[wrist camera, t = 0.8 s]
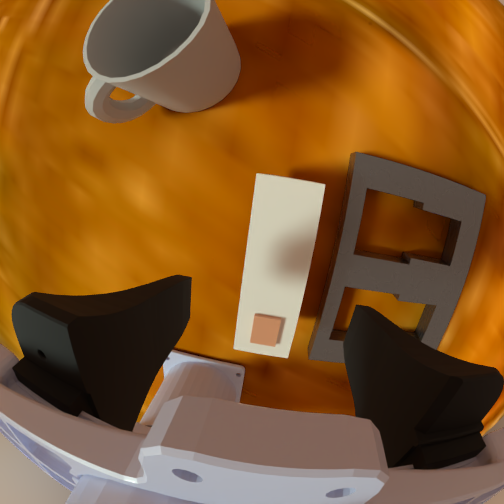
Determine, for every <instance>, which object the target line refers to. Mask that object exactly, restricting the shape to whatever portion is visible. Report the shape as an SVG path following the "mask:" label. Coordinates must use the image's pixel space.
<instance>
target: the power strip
mask: <svg viewBox="0 0 504 504" xmlns="http://www.w3.org/2000/svg"><path fill="white" fill-rule="evenodd" d="M324 190H325V184H322V183H318V182H313V181H307V180H302V179H296V178H290V177H283V176H277V175H270V174H263V173H257V175H256V182H255V190H254V197H253V204H252V212H251V219H250V227H249V234H248V241H247V249H246V256H245V264H244V272H243V279H242V287H241V294H240V302H239V310H238V317H237V325H236V333H235V341H234V349H236V350H241V351H247V352H252V353H258V354H264V355H270V356H276V357H283V358H288V355H289V352H290V348H291V344H292V340H293V337H294V333H295V329H296V325H297V321H298V317H299V313H300V309H301V305H302V300H303V296H304V292H305V287H306V283H307V278H308V274H309V269H310V265H311V260H312V255H313V250H314V245H315V240H316V235H317V230H318V224H319V219H320V213H321V208H322V202H323V196H324Z"/></svg>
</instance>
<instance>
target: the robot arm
mask: <svg viewBox="0 0 504 504" xmlns="http://www.w3.org/2000/svg"><path fill="white" fill-rule="evenodd" d="M191 280H192V277H187V276H182V275H174V276H170V277H167V278H164V279H161V280H158V281H155V282H152V283H149V284H145V285H142V286H138V287H135V288H131V289H128V290H123V291H119V292H113V293H107V294H97V295H85V296H68V295H54V294H46V293H38V292H33V293H31V294H29V295H27V296H26V297H24V298H23V299H21V300H19V301H18V302H16V303H15V304H14V306H13V309H12V322H13V326H14V329H15V332H16V335H17V338H18V341H19V344H20V347H21V349H22V352H23V354H24V356H25V357H24V358H22V359H21V360H20V361H19V360H18V358H17V357H16V356H15V355H14V354H13V353H12V352H11V351H9V350H8V349H7V348H6V347H4V346H3V345H2V344H0V432H1V433H2V434H3V435H4V436H5V437H6V438H7V439H8V440H9V441H10V442H11V443H12V444H13V445H14V446H15V447H16V448H17V449H19V450H20V451H21V452H22V453H23V454H24V455H25V456H26V457H27V458H29V459H30V460H31V461H32V462H33V463H34V464H36V465H37V466H38V467H39V468H40V469H42V470H43V471H44V472H45V473H47V474H48V475H49V476H51V477H52V478H53V479H55V480H56V481H57V482H59V483H60V484H62V485H63V486H64V487H66V488H67V489H69V490H70V491H72V492H71V494H70V496H69V497H68V499H67V501H66V502H65V504H484V503H485V502H487V501H488V500H489V499H491V498H492V497H493V496H495V495H496V494H497V493H499V492H500V491H501V490H502V489H504V428H501V429H498V430H496V431H493V432H490V433H489V434H487V435H485V436H484V437H483V438H482V436H481V434H480V431H482V430H483V428H484V426H483V424H482V422H481V420H482V419H483V418H484V417H485V416H486V414H487V413H488V412H489V410H490V409H491V408H492V406H493V405H494V404H495V402H496V401H497V399H498V398H499V396H500V394H501V392H502V389H503V385H504V379H503V376H502V375H501V374H500V373H499V371H498V370H497V369H496V368H494V367H488V366H483V365H478V364H474V363H470V362H467V361H463V360H460V359H457V358H454V357H452V356H449V355H447V354H444V353H442V352H440V351H438V350H435V349H433V348H431V347H430V346H428V345H426V344H424V343H422V342H421V341H419V340H417V339H416V338H414V337H413V336H411V335H410V334H408V333H407V332H405V331H404V330H402V329H401V328H399V327H398V326H397V325H395V324H394V323H393V322H391V321H390V320H389V319H387V318H386V317H384V316H383V315H382V314H380V313H379V312H378V311H376V310H375V309H373V308H371V307H369V306H362V305H356V307H355V310H354V313H353V316H352V319H351V322H350V325H349V328H348V331H347V333H346V336H345V339H344V342H343V349H344V360H345V365H346V369H347V374H348V378H349V382H350V386H351V390H352V395H353V399H354V405H355V414H356V417H354V416H349V415H344V414H324V413H310V412H299V411H290V410H281V409H274V408H267V407H260V406H254V405H248V404H243V403H240V397H241V391H242V386H243V380H244V374H245V368H244V367H243V366H241V365H237V364H232V363H227V362H222V361H217V360H213V359H208V358H204V357H200V356H196V355H192V354H188V353H184V352H180V351H176V350H173V348H174V347H175V345H176V344H177V342H178V340H179V339H180V337H181V336H182V334H183V332H184V330H185V328H186V326H187V323H188V321H189V319H190V303H191ZM168 357H169V358H168ZM162 365H163V368H164V381H163V383H162V384H161V386H160V388H159V390H158V391H157V393H156V395H155V397H154V398H153V400H152V402H151V404H150V405H149V407H148V409H147V411H146V412H145V414H144V416H143V418H142V419H141V421H140V423H138V422H136V421H137V418H138V415H139V413H140V410H141V408H142V405H143V403H144V401H145V398H146V396H147V394H148V391H149V389H150V387H151V385H152V383H153V381H154V379H155V377H156V375H157V373H158V371H159V369H160V368H161V366H162ZM237 373H240V374H237ZM135 423H136V424H135Z"/></svg>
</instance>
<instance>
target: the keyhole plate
mask: <svg viewBox="0 0 504 504" xmlns="http://www.w3.org/2000/svg"><path fill="white" fill-rule="evenodd" d="M367 188H369V189H373V190H377V191H381V192H385V193H389V194H393V195H397V196H401V197H404V198H408V199H412V200H415V201H414V206H413V207H416V208H419V209H422V210H425V211H429V212H432V213H436V214H439V215H442V216H445V217H449V218H451V222H450V226H449V231H448V235H447V239H446V243H445V247H444V251H443V254H442V258H441V260H439V259H435V258H430V257H425V256H420V255H416V254H411V253H406V252H403V254H402V258H399V257H393V256H388V255H383V254H378V253H372V252H367V251H361V250H356V249H355V245H356V240H357V236H358V231H359V227H360V222H361V217H362V212H363V207H364V201H365V196H366V190H367ZM485 199H486V195H484V194H482V193H480V192H477V191H475V190H473V189H470V188H468V187H465V186H463V185H460V184H458V183H455V182H453V181H450V180H447V179H445V178H442V177H439V176H436V175H434V174H431V173H428V172H425V171H422V170H419V169H416V168H413V167H409V166H406V165H403V164H400V163H396V162H393V161H389V160H386V159H382V158H378V157H375V156H371V155H367V154H363V153H359V152H354V153H351V155H350V162H349V169H348V175H347V182H346V188H345V194H344V199H343V205H342V210H341V216H340V221H339V226H338V231H337V236H336V240H335V245H334V250H333V254H332V259H331V263H330V267H329V272H328V276H327V280H326V284H325V288H324V292H323V296H322V300H321V303H320V307H319V311H318V314H317V318H316V322H315V325H314V329H313V332H312V335H311V339H310V342H309V345H308V357H309V359H311V360H319V361H329V362H339V363H345V360H344V349H343V342H344V339H345V336H346V333H347V331H341V330H333V329H332V328H333V325H334V322H335V319H336V316H337V312H338V309H339V306H340V302H341V299H342V295H343V292H344V288H345V287H351V288H358V289H365V290H372V291H379V292H386V293H393V295H394V296H395V297H396V299H397V300H398V301H406V302H414V303H422V304H426V306H425V308H424V311H423V313H422V316H421V318H420V321H419V323H418V326H417V328H416V330H415V332H407V333H408V334H410V335H411V336H413V337H414V338H416V339H417V340H419V341H421V342H422V343H424V344H426V345H428V346H430V347H431V348H433V349H435V350H436V349H437V347H438V345H439V343H440V341H441V339H442V337H443V335H444V333H445V330H446V328H447V326H448V324H449V321H450V319H451V317H452V314H453V312H454V310H455V307H456V305H457V302H458V299H459V297H460V294H461V291H462V289H463V286H464V283H465V280H466V277H467V274H468V271H469V267H470V264H471V261H472V257H473V254H474V250H475V246H476V243H477V238H478V234H479V230H480V225H481V221H482V216H483V211H484V205H485Z"/></svg>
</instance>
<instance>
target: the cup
mask: <svg viewBox="0 0 504 504" xmlns="http://www.w3.org/2000/svg"><path fill="white" fill-rule="evenodd" d="M83 57H84V63H85V65H86V68H87V70H88V72H89V73H90V74H91V75H93V77H92V79H91V80H90V82H89V84H88V86H87V88H86V90H85V108H86V109H87V111H88V112H89V114H90V115H92V116H93V117H95V118H97V119H99V120H102V121H104V122H109V123H123V122H127V121H131V120H133V119H135V118H137V117H139V116H141V115H143V114H144V113H145V112H147V111H148V110H149V109H151V108H152V107H153V106H154V105H155V104H159V105H161V106H163V107H166V108H168V109H170V110H173V111H176V112H185V113H189V112H197V111H201V110H204V109H206V108H209V107H212V106H213V105H215V104H216V103H218V102H219V101H221V100H222V99H223V98H224V97H225V96H226V95H227V94H228V93H229V92H230V91H231V90H232V89H233V87H234V85H235V84H236V82H237V81H238V77H239V74H240V71H241V59H240V55H239V52H238V50H237V47H236V44H235V42H234V40H233V38H232V36H231V34H230V31H229V29H228V27H227V25H226V23H225V21H224V19H223V17H222V15H221V13H220V11H219V9H218V7H217V5H216V3H215V1H214V0H110V1H109V2H108V3H107V4H106V5H105V6H104V7H103V8H102V9H101V11H100V12H99V13H98V15H97V16H96V18H95V19H94V21H93V22H92V24H91V26H90V28H89V30H88V33H87V35H86V38H85V43H84V47H83ZM116 87H119V88H122V89H124V90H127V91H129V92H131V93H133V94H136V96H134V97H133V98H131V99H128V100H123V101H117V100H113V99H111V98H110V97H109V96H110V94H111V93H112V91H113V90H114V89H115V88H116Z"/></svg>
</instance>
